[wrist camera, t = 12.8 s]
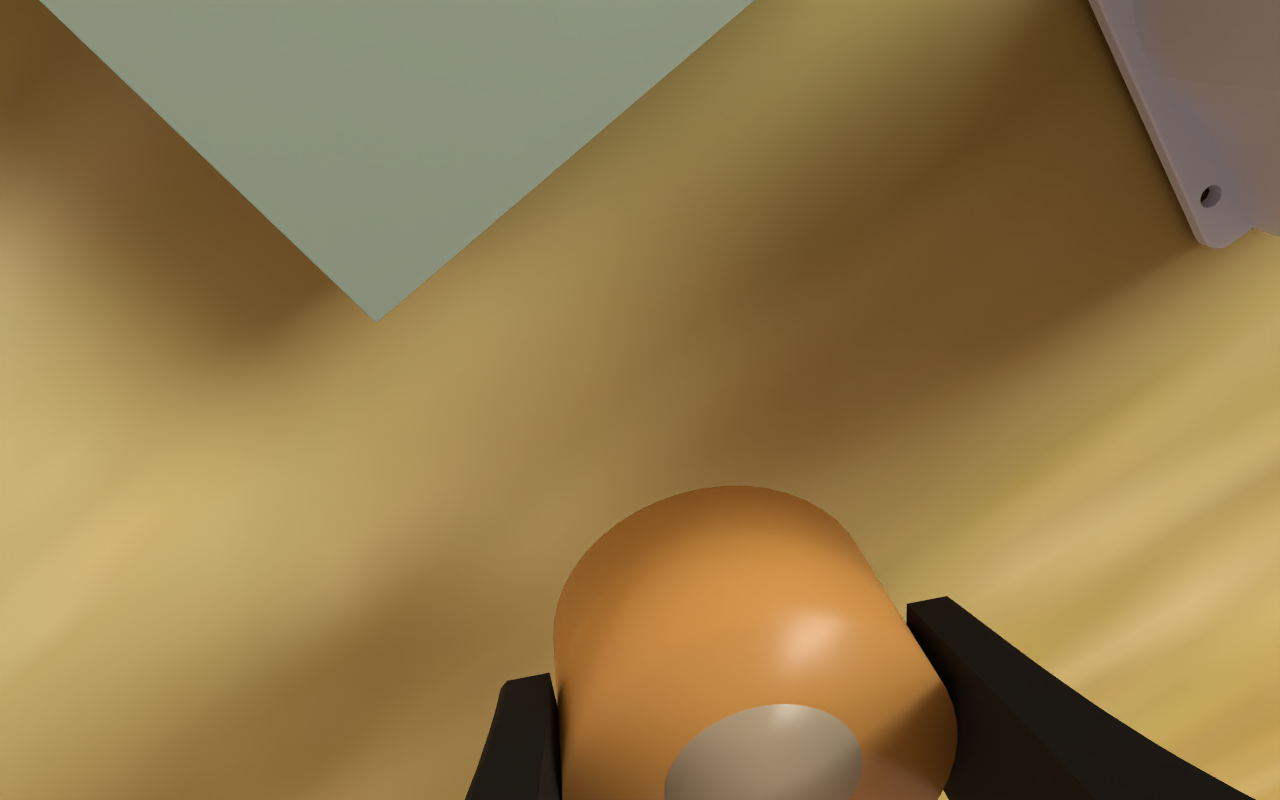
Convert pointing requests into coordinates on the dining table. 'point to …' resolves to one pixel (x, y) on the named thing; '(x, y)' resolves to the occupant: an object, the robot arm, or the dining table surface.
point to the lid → (389, 107)
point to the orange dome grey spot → (741, 662)
